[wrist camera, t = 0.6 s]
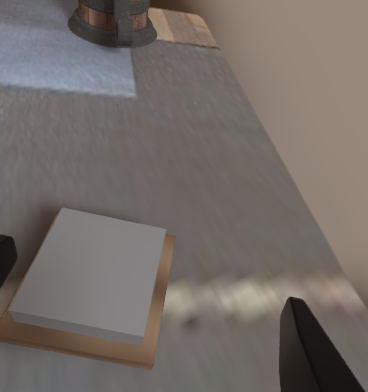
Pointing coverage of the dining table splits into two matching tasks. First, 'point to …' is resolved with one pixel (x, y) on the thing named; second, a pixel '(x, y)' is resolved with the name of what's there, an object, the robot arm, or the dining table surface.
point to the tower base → (95, 346)
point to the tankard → (113, 23)
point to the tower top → (92, 278)
